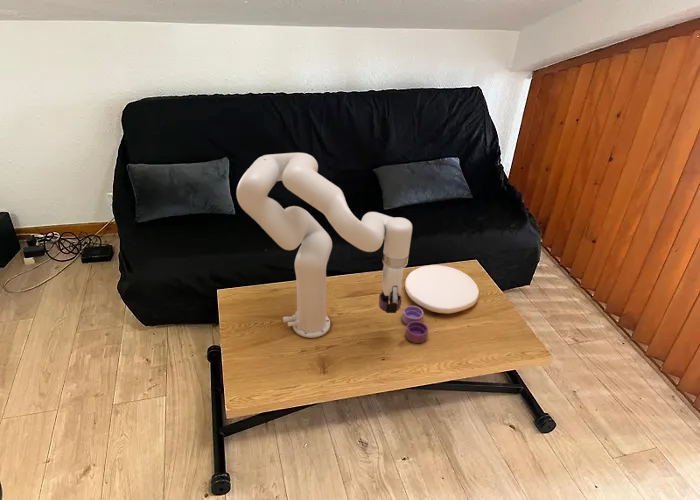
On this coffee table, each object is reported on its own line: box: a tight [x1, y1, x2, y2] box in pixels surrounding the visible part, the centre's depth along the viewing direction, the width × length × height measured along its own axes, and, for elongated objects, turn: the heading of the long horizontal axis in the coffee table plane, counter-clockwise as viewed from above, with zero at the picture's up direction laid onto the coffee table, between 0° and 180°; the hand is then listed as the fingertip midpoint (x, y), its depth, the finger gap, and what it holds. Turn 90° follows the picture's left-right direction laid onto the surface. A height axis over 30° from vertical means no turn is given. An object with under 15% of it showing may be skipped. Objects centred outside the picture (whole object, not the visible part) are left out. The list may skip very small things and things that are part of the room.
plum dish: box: [405, 321, 429, 344], centre depth 162 cm, size 7×7×4 cm
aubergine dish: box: [378, 291, 403, 313], centre depth 155 cm, size 7×7×4 cm
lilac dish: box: [401, 305, 425, 326], centre depth 169 cm, size 7×7×4 cm
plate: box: [404, 264, 480, 315], centre depth 182 cm, size 28×6×27 cm
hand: (389, 304), depth 156 cm, fingers closed on aubergine dish, 7 cm apart
